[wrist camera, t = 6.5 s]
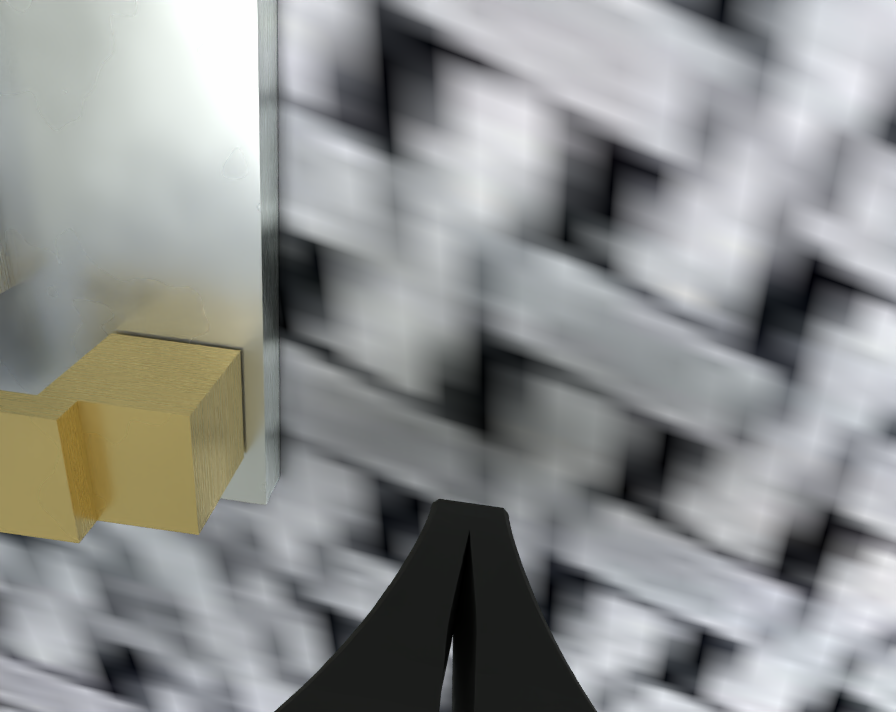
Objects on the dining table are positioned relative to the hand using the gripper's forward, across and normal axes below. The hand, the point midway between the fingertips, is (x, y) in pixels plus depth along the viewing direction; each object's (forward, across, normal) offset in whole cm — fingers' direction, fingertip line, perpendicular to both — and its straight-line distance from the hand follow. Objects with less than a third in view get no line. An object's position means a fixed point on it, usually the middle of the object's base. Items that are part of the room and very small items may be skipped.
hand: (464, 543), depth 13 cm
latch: (+4, +8, 0) cm, 9 cm away
